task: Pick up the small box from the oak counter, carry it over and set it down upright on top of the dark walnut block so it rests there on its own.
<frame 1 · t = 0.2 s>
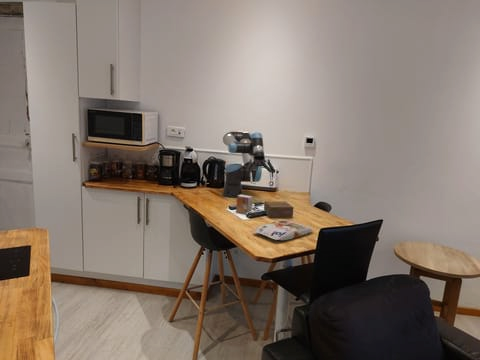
hand: (261, 182, 238), 16 cm above the counter, tool tilted 35°, fingers open, 13 cm apart
dog food: (283, 234, 185), on the counter
small box: (243, 212, 221), on the counter
walnut block: (277, 215, 220), on the counter
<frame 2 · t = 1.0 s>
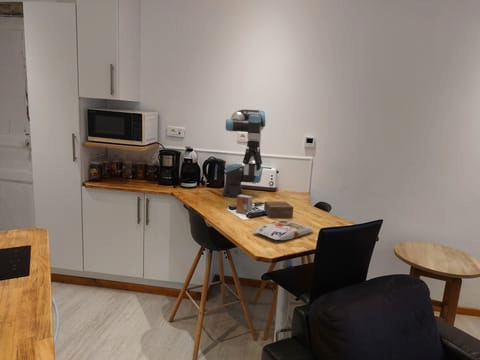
hand: (251, 175, 221), 23 cm above the counter, tool pointing down, fingers open, 13 cm apart
nothing on the counter moved.
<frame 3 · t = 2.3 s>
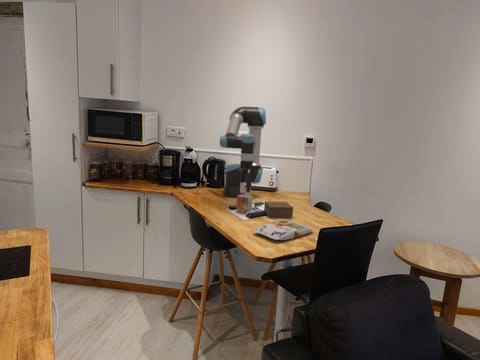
hand: (244, 195, 219), 11 cm above the counter, tool pointing down, fingers open, 13 cm apart
nothing on the counter moved.
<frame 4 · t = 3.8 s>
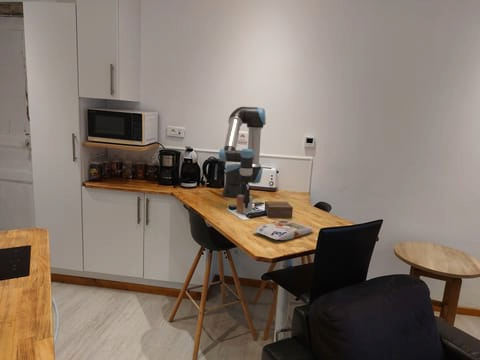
hand: (243, 210, 221), 1 cm above the counter, tool pointing down, fingers closed on small box, 9 cm apart
small box: (243, 212, 221), on the counter, touching gripper
everything else where it was.
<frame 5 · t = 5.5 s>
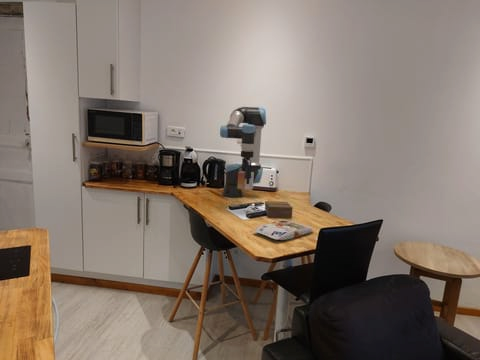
hand: (245, 187, 218), 16 cm above the counter, tool pointing down, fingers closed on small box, 9 cm apart
small box: (245, 189, 219), point 14 cm above the counter, touching gripper
everything else where it was.
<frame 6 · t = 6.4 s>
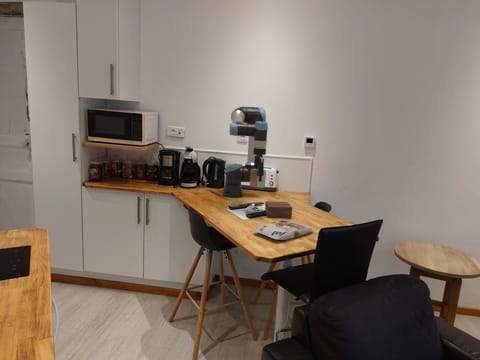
hand: (257, 185, 217), 18 cm above the counter, tool pointing down, fingers closed on small box, 9 cm apart
small box: (257, 187, 217), point 16 cm above the counter, touching gripper
everything else where it was.
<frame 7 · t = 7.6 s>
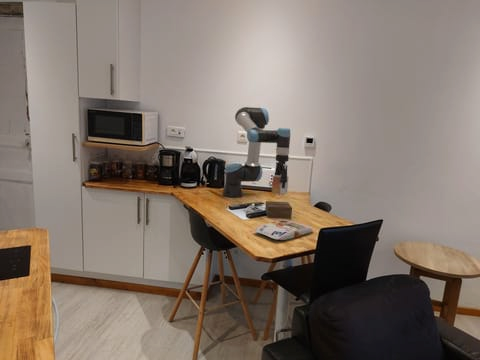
hand: (279, 191, 217), 15 cm above the counter, tool pointing down, fingers closed on small box, 9 cm apart
small box: (279, 193, 217), point 13 cm above the counter, touching gripper
everything else where it was.
when the fingers open (9 cm above the counter, at t = 8.8 s): small box drops 1 cm, resting on walnut block.
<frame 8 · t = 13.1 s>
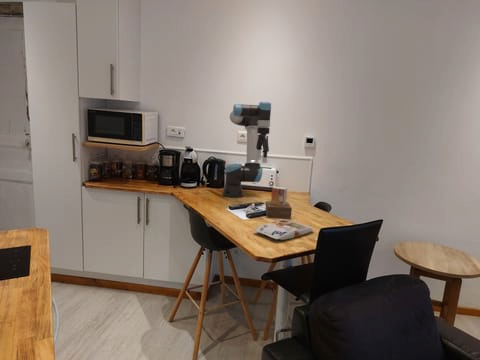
hand: (261, 161, 228), 31 cm above the counter, tool pointing down, fingers open, 13 cm apart
small box: (278, 204, 218), point 6 cm above the counter, touching walnut block
walnut block: (277, 215, 220), on the counter, touching small box
at the end: small box inside the target area on the walnut block (0.1 cm from its centre), point 6.8 cm above the walnut block's base; small box tilted 0°; the gripper is holding nothing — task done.
